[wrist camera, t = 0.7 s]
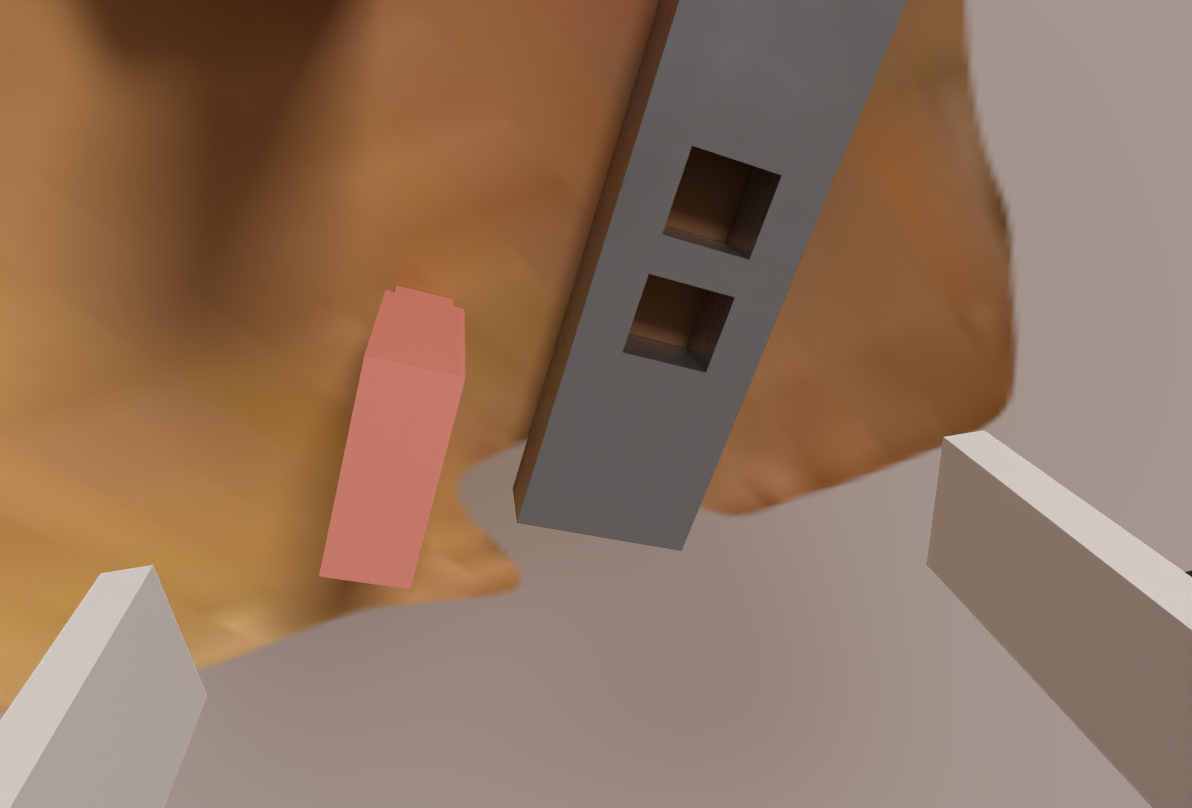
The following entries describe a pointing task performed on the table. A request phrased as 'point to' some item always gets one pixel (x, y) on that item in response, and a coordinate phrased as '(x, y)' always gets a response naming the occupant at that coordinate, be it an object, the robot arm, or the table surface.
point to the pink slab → (397, 439)
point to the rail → (693, 256)
